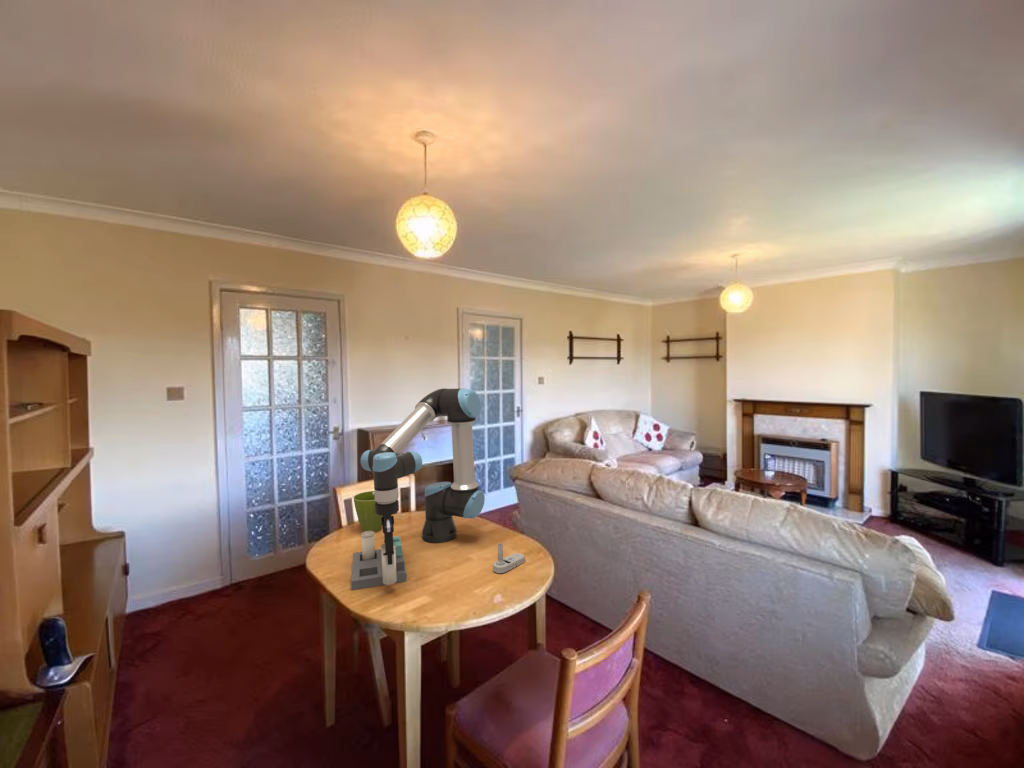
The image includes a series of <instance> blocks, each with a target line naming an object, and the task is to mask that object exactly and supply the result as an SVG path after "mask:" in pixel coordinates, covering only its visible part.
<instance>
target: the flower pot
mask: <svg viewBox="0 0 1024 768" xmlns="http://www.w3.org/2000/svg"><path fill="white" fill-rule="evenodd" d="M373 492H375V491H374V490H371V491H365V492H360V493H356V494H355V495H353V502H354V508H355V512H356V515H357V518H358V522H359V524H360V527H361V529H362V532H365V531H374V533H377V532H379V531H380V530H381V529H382V522H381V517H383V516H382V515H381V516H380V515H377V514H376V513H375V503H376V501H375V495H373V494H372V493H373Z"/></svg>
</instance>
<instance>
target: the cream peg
mask: <svg viewBox="0 0 1024 768" xmlns="http://www.w3.org/2000/svg"><path fill="white" fill-rule="evenodd" d="M393 548H394V568H395V573H390V574H386V561H385V555H384V556H383V553H385V552H386V551H385V543H383V544H381V546H380V549H381V554H382V577H383V584H386V585H385V586H387V585H388V586H389V585H390V586H391V585H393V584H396V583H395V582H396V581H397V574H396V550H395V548H396V544H394V543H393Z"/></svg>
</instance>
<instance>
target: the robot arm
mask: <svg viewBox="0 0 1024 768" xmlns="http://www.w3.org/2000/svg"><path fill="white" fill-rule="evenodd" d="M481 404H482V403H481V399H480V396H479V394H478V393H477V392H476V391H475V390H474V389H471V388H465V387H464V388H446V387H445V388H440V389H439V388H438V389H436V390H434V391H432V392H430V393H428V394H427V395H425V396H424V397H422V399H420V401H418V402H417V403H416V404H415V406H414V410H413V411H412V412H411V413H410V414H409V415H408V416H407V417H405V419H404V420H403V421H402V422H401V423H400V424H399V425H398V426H397V427H395V429H393V431H392V432H391V433H390V434H389V435H388V436H387V437H386V438H385V439H384V440H383V441H382V442H381V443H380V444H379V445H378V446H377V447H376V448H375V449H368V450H365V451H363V453H362V454H361V456H360V465H361V467H362V469H363V470H365V471H367V472H368V471H369V472H372V476H373V488H374V490H373V491H375V492H373V493H372V494H373V495H375V501H376V503H375V513H376V514H377V515H380V516H381V515H382V516H383V517H381V522H382V526H381V528H382V533H383V536H384V537H383V538H384V539H383V543H384V544H385V551H386V552H385V553H383V556H384V555H385V561H386V574H390V573H395V568H394V548H393V537H394V536H393V535H394V534H393V533H394V532H395V527H394V525H395V517H394V515H395V514H397V513H398V512H399V510H400V505H399V503H400V502H399V484H398V483H399V481H398V480H399V479H402V478H404V477H407V476H409V475H412V474H414V473H416V472H418V471H420V470H421V468H422V467H423V459H422V456H421V454H420V453H419V452H418V451H414V450H412V451H406V452H402V451H403V450H404V449H405V448H406V447H407V446H408V445H409V444H411V443H410V442H412V440H413V439H414V438H415V437H417V435H418V434H419V433H420V432H421V431H422V430H423V429H424V428H425V427H426V425H428V423H430V422H434V420H435V419H437V418H439V417H446V418H447V423H448V424H449V425H450V426H451V442H452V443H451V444H452V445H451V446H452V447H451V448H452V465H453V482H451V481H440V482H439V481H438V482H435V483H431V484H428V485H427V486H426V487H425V489H424V496H423V497H424V509H425V511H424V513H425V520H424V524H423V527H422V531H421V540H422V541H425V542H428V543H433V544H435V543H436V544H437V543H446V542H449V541H452V540H454V539H455V538H456V537H457V536H458V531H457V530H458V529H457V527H456V524H455V520H454V518H453V516H454V517H458V518H459V517H460V518H464V519H475V518H477V517H478V516H479V515H480V514H481V512H482V510H483V509H484V506H485V493H484V491H482V490H481V489H480V490H479V488H480V487H479V483H478V482H477V481H476V480H475V461H474V440H473V439H474V436H473V434H474V433H473V424H475V422H476V418H477V417H478V416H479V415H480V413H481V412H480V411H481V408H482V405H481Z"/></svg>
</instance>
